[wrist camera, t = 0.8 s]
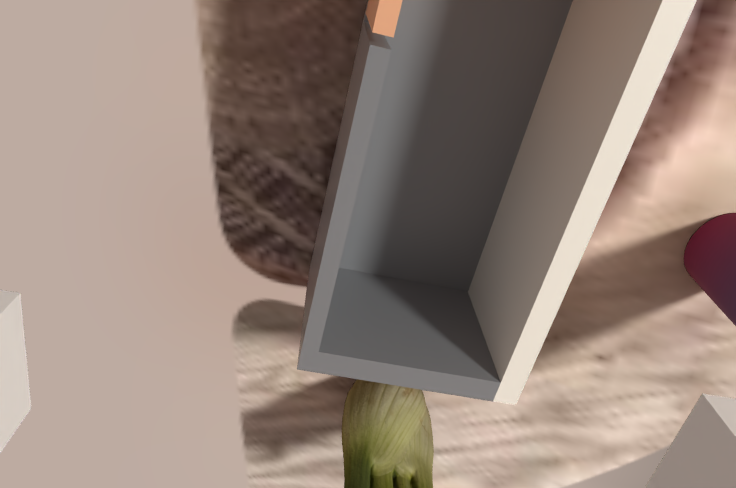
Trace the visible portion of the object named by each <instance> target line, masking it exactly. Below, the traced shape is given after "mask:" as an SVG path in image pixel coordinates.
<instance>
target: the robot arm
mask: <svg viewBox="0 0 736 488" xmlns="http://www.w3.org/2000/svg"><path fill="white" fill-rule="evenodd" d="M30 409H31V399H30V389H29V378H28V367H27V357H26V347H25V336H24V325H23V314H22V304H21V293H19V292H12V291H5V290H0V453H1V451H2V450H3V449H4V447H5V446H6V444H7V443H8V441H9V440H10V438H11V437H12V436H13V434H14V433H15V431H16V430H17V428H18V427H19V425H20V424H21V423H22V421H23V420H24V418H25V417H26V415H27V414H28V412H29V411H30ZM646 488H736V398H729V397H722V396H716V395H709V394H702V395H701V396H700V398H699V400H698V401H697V403H696V405H695V406H694V408H693V409H692V411H691V413H690V414H689V416H688V418H687V419H686V421H685V423H684V424H683V426H682V427H681V429H680V431H679V432H678V434H677V436H676V437H675V439H674V440H673V442H672V444H671V445H670V447H669V449H668V450H667V452H666V454H665V455H664V457H663V458H662V460H661V462H660V463H659V465H658V466H657V468H656V470H655V471H654V473H653V475H652V476H651V478H650V480H649V481H648V483H647V484H646Z"/></svg>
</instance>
